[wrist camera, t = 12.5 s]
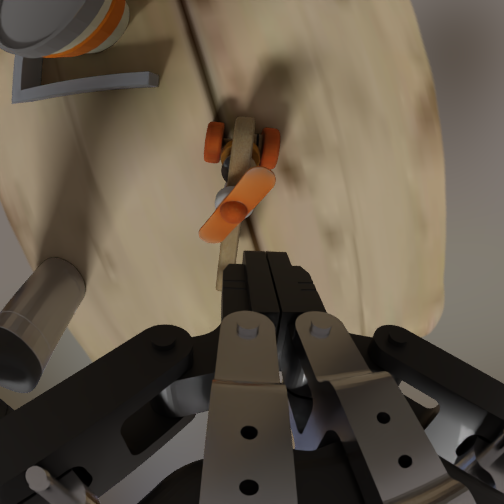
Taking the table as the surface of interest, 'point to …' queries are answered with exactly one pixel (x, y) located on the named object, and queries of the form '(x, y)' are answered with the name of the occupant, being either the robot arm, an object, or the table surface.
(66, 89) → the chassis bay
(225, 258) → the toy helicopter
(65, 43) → the reusable coffee cup
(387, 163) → the table surface
